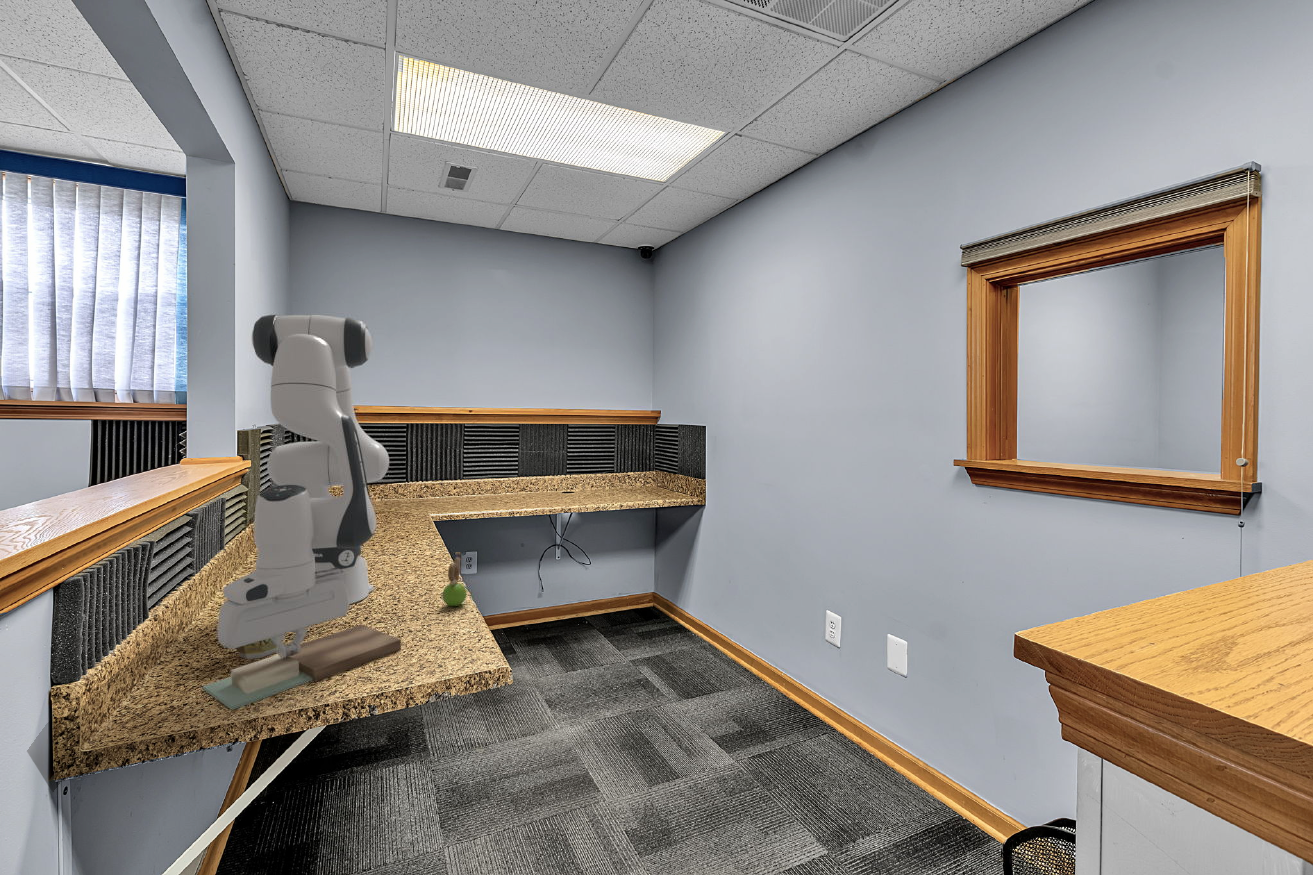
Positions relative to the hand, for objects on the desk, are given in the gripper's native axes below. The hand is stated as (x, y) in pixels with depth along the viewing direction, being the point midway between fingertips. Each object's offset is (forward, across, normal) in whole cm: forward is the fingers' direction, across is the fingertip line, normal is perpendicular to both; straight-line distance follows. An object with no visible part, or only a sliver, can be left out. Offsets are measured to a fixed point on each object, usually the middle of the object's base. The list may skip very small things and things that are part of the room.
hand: (289, 655), depth 104 cm
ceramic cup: (+4, -2, -16) cm, 17 cm away
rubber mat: (+3, +5, 0) cm, 6 cm away
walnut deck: (+3, -9, 0) cm, 9 cm away
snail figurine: (+4, -39, -6) cm, 40 cm away
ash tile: (+3, +4, 0) cm, 5 cm away
